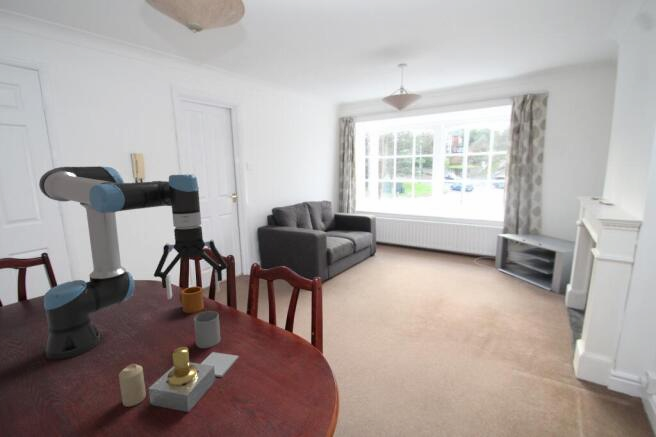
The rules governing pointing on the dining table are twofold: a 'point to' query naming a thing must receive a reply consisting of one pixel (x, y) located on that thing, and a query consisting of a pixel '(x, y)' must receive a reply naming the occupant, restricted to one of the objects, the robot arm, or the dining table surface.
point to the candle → (132, 385)
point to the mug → (192, 299)
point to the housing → (182, 389)
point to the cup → (207, 329)
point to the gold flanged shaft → (181, 368)
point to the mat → (220, 362)
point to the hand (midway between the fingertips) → (194, 294)
